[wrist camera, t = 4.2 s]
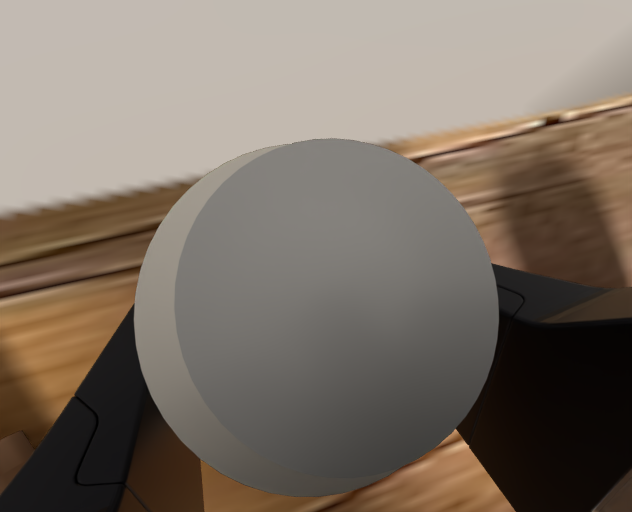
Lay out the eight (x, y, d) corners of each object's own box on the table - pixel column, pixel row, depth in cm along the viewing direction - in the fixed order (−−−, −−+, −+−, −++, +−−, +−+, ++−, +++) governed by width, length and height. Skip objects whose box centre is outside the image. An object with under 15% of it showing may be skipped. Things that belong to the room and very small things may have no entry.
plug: (329, 336, 16) (617, 341, 4) (244, 402, 15) (299, 702, 3) (272, 254, 16) (385, 28, 4) (183, 312, 15) (-16, 222, 3)
